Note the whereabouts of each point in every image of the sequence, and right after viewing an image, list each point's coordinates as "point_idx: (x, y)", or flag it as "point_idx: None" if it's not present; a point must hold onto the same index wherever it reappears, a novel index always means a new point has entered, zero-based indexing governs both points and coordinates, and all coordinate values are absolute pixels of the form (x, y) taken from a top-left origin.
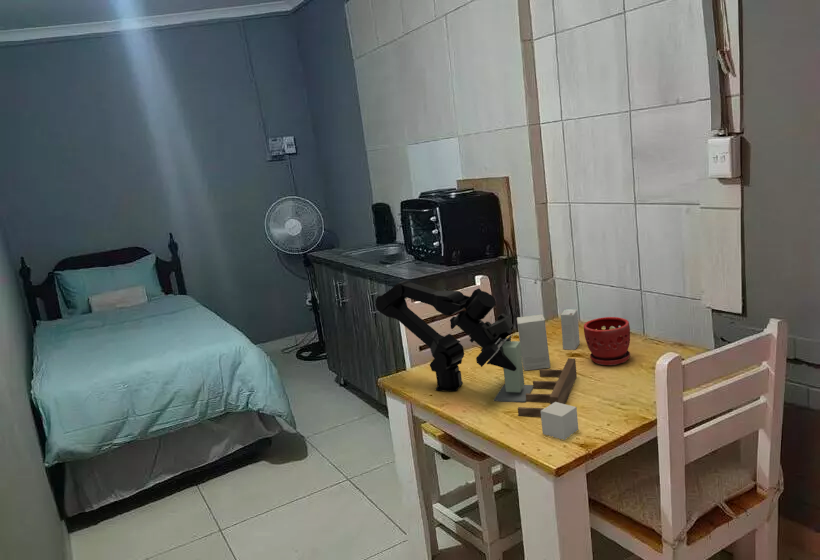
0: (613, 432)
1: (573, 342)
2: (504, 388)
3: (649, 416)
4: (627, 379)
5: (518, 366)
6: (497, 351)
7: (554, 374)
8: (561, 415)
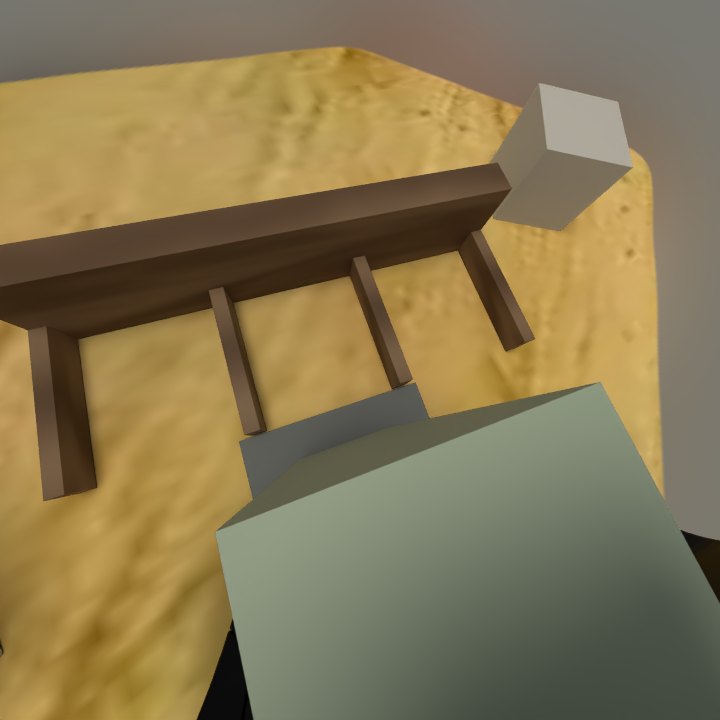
0: (455, 96)
1: None
2: None
3: (335, 47)
4: (56, 132)
5: (410, 426)
6: None
7: (74, 406)
8: (613, 104)
